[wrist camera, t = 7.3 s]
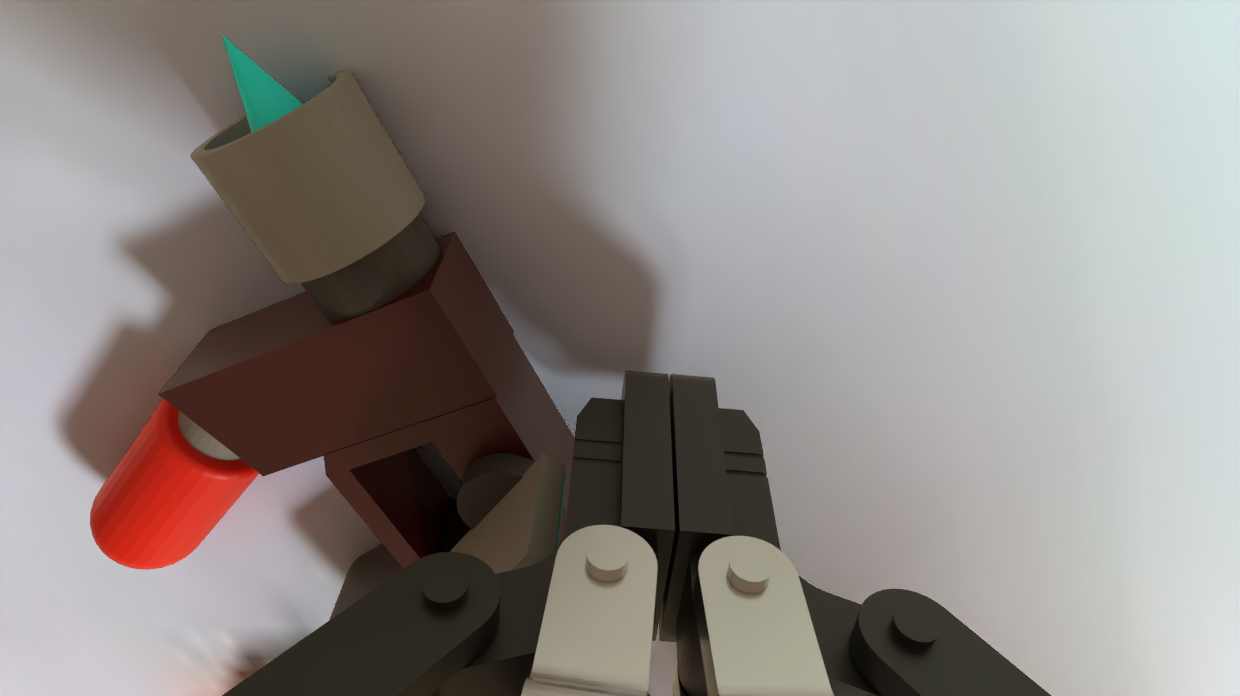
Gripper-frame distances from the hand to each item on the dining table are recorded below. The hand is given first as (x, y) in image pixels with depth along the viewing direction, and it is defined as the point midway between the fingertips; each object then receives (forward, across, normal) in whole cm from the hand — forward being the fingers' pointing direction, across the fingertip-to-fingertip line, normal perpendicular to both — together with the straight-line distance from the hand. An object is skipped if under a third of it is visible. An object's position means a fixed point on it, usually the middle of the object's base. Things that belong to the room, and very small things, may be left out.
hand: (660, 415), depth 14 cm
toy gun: (+2, +6, +1) cm, 7 cm away
